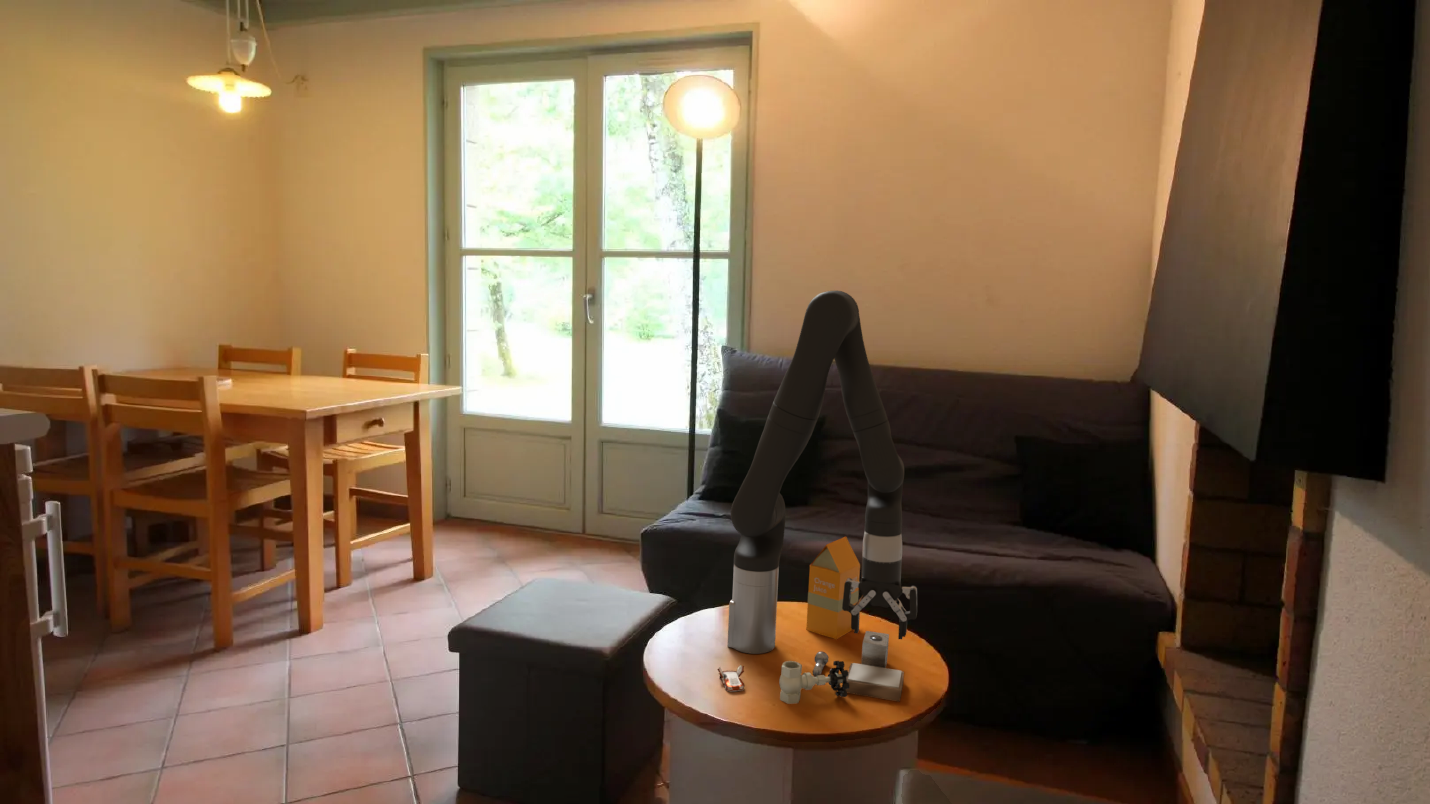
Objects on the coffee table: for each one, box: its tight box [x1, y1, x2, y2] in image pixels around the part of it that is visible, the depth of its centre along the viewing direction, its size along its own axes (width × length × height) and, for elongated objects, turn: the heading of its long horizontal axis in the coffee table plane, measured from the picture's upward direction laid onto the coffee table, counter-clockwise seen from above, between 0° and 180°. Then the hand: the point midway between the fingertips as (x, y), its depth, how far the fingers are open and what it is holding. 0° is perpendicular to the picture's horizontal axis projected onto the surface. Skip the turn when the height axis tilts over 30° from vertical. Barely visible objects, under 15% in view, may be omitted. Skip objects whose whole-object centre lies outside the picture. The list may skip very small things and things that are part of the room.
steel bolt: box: [812, 650, 829, 677], centre depth 165 cm, size 6×3×3 cm, turn 163°
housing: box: [860, 630, 890, 668], centre depth 167 cm, size 4×6×6 cm
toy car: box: [717, 664, 745, 693], centre depth 158 cm, size 5×8×3 cm, turn 10°
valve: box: [778, 660, 849, 705], centre depth 153 cm, size 7×7×12 cm
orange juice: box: [805, 536, 861, 640], centre depth 184 cm, size 8×9×20 cm
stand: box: [846, 662, 905, 702], centre depth 158 cm, size 10×8×2 cm
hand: (878, 634), depth 166 cm, fingers open, 8 cm apart
